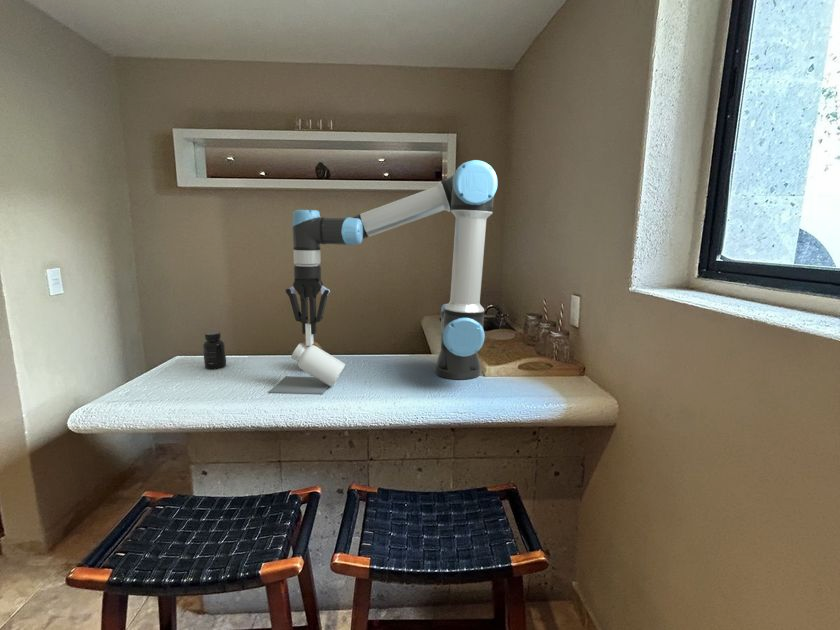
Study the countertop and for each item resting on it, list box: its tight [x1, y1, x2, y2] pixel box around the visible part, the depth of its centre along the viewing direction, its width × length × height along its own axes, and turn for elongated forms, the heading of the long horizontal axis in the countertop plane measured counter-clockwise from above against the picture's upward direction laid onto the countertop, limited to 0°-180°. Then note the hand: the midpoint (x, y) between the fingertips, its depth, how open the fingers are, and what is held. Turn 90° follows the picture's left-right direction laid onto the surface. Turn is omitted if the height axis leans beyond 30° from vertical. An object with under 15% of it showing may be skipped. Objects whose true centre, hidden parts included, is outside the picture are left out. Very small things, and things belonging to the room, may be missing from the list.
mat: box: [267, 375, 330, 395], centre depth 136 cm, size 16×14×1 cm
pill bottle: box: [291, 342, 346, 387], centre depth 135 cm, size 8×8×15 cm
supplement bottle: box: [202, 331, 227, 371], centre depth 153 cm, size 7×7×12 cm
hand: (309, 344), depth 134 cm, fingers closed
